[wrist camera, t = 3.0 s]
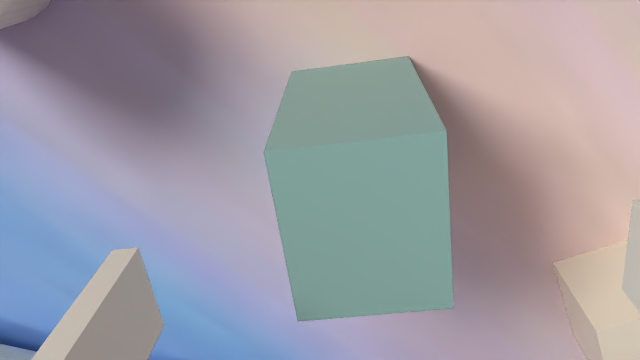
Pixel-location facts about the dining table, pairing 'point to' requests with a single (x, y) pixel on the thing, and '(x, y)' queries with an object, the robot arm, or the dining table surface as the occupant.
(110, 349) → the robot arm
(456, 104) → the dining table surface
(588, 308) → the cream cube
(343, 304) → the teal block
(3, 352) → the square plate
